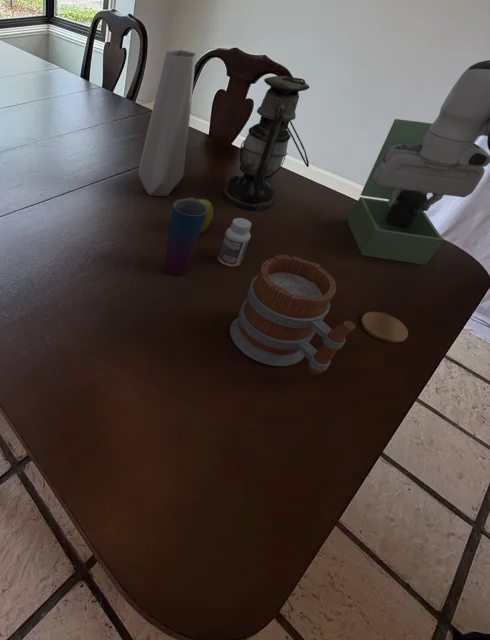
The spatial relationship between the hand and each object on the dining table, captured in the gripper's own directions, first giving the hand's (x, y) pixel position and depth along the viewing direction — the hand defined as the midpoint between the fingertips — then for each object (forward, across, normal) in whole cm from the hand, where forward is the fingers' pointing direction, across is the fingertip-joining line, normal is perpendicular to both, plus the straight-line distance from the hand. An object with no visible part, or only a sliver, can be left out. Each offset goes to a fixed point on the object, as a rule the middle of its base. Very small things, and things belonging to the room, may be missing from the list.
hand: (406, 207), depth 104 cm
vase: (+9, -59, +9) cm, 61 cm away
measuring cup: (+4, 0, -1) cm, 4 cm away
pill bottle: (+9, -39, -20) cm, 45 cm away
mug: (+9, -31, -47) cm, 57 cm away
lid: (-7, 0, +9) cm, 11 cm away
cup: (+9, -51, -27) cm, 59 cm away
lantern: (+9, -31, +13) cm, 35 cm away
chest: (+9, 0, 0) cm, 9 cm away
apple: (+9, -48, -9) cm, 50 cm away
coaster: (+9, -9, -35) cm, 37 cm away
